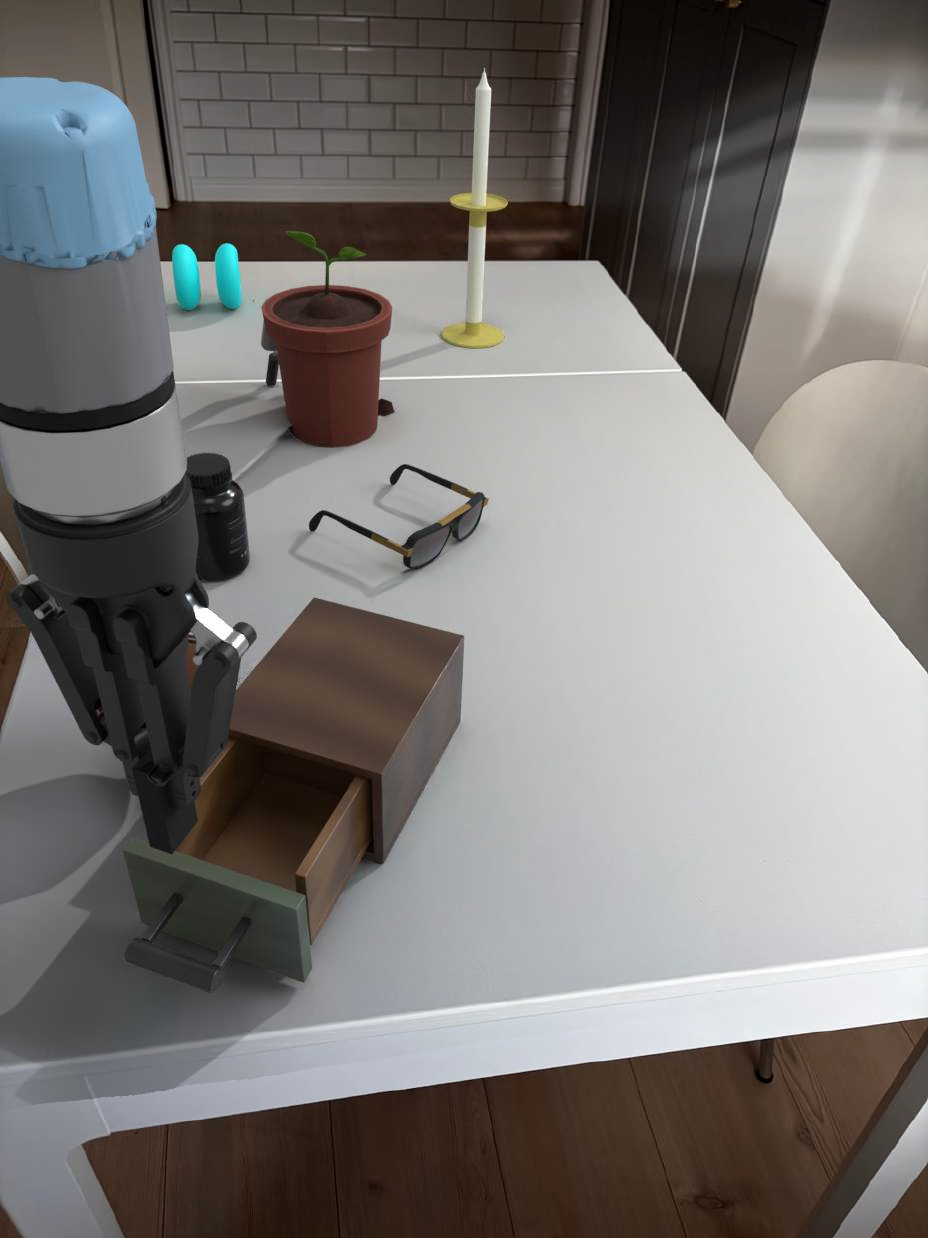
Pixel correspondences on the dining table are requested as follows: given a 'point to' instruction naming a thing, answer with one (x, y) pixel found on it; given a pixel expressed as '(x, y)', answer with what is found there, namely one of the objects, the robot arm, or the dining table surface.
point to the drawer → (252, 865)
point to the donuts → (190, 279)
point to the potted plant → (328, 356)
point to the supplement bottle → (218, 518)
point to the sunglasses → (432, 538)
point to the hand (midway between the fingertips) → (174, 833)
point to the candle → (477, 233)
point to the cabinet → (358, 703)
